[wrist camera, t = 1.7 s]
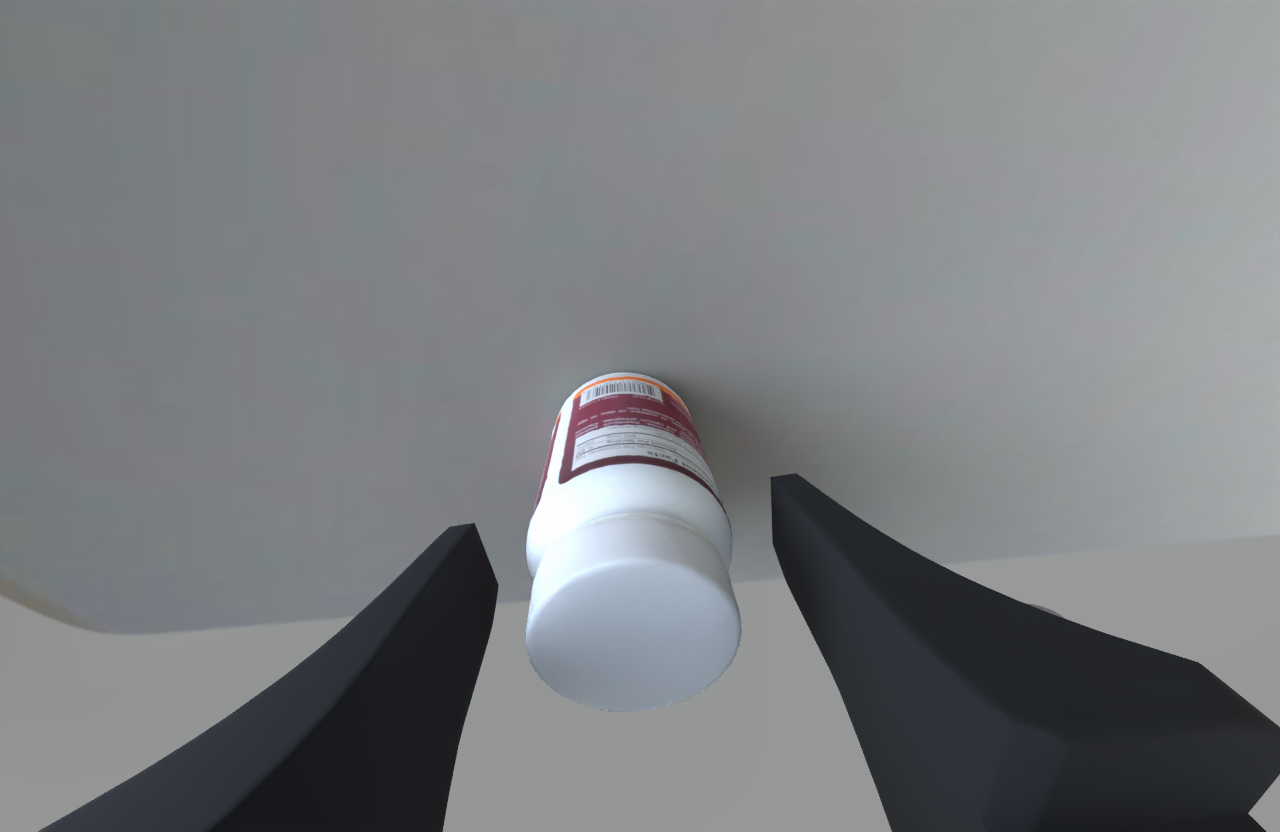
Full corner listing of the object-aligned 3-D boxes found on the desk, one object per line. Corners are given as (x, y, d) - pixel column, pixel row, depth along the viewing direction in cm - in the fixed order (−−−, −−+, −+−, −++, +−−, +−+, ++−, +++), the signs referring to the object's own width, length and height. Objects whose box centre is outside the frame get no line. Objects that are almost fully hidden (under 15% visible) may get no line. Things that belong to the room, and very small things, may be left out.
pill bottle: (636, 511, 18) (653, 753, 10) (528, 444, 16) (452, 668, 9) (722, 421, 16) (817, 625, 9) (612, 339, 15) (609, 495, 7)
